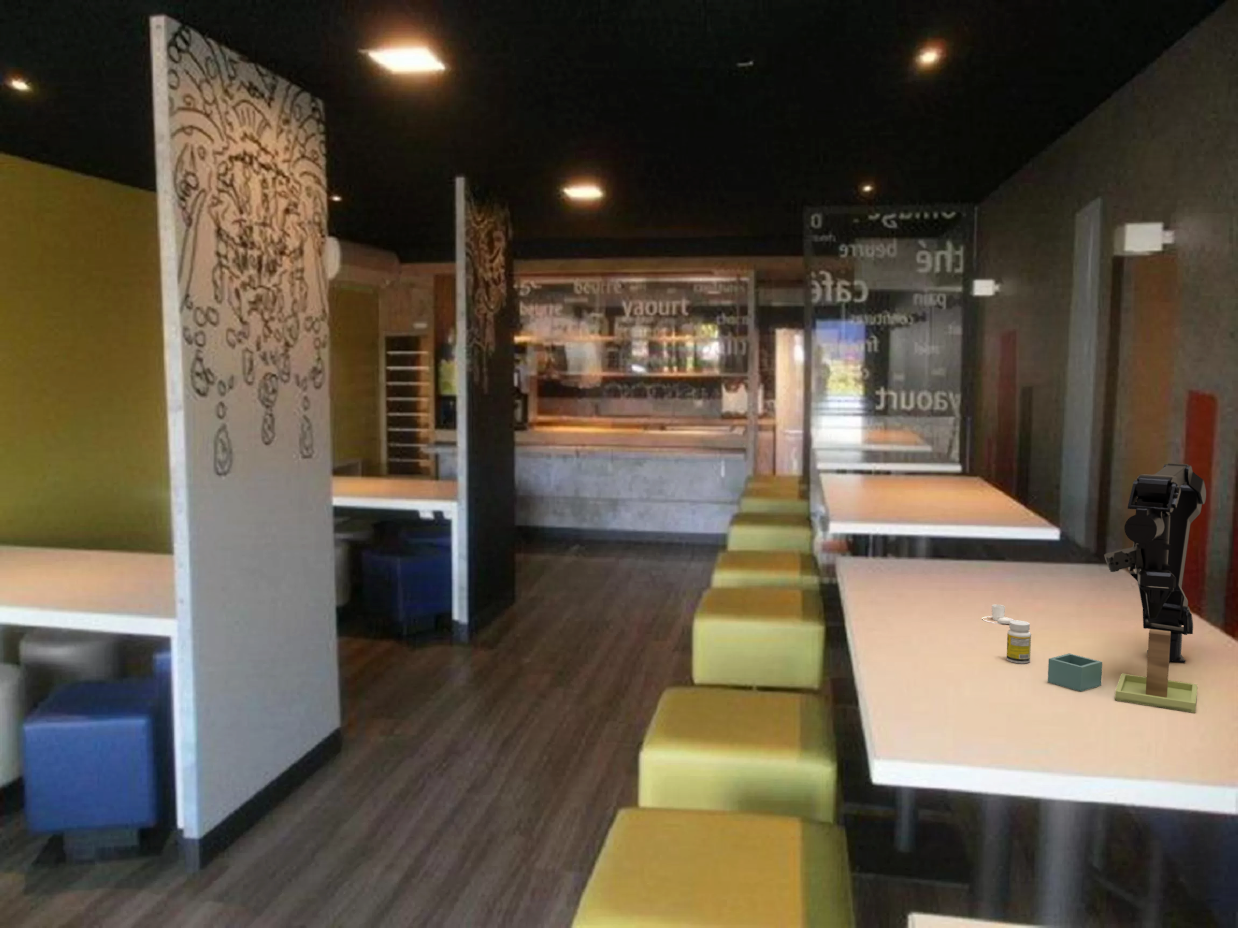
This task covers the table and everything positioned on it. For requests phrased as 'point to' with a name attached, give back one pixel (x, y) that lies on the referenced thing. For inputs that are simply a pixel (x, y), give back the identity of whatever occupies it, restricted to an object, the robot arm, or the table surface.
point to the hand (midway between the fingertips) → (1148, 613)
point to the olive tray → (1177, 696)
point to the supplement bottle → (1019, 642)
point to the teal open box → (1075, 672)
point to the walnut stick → (1158, 663)
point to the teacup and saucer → (999, 615)
